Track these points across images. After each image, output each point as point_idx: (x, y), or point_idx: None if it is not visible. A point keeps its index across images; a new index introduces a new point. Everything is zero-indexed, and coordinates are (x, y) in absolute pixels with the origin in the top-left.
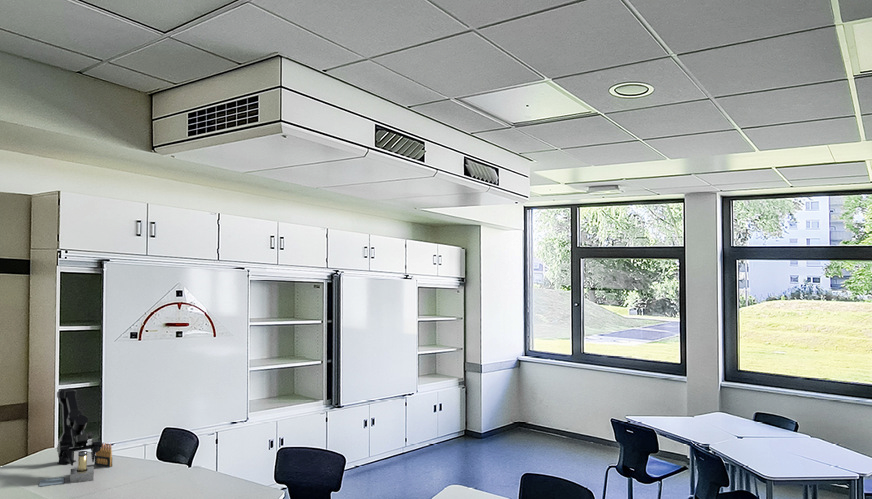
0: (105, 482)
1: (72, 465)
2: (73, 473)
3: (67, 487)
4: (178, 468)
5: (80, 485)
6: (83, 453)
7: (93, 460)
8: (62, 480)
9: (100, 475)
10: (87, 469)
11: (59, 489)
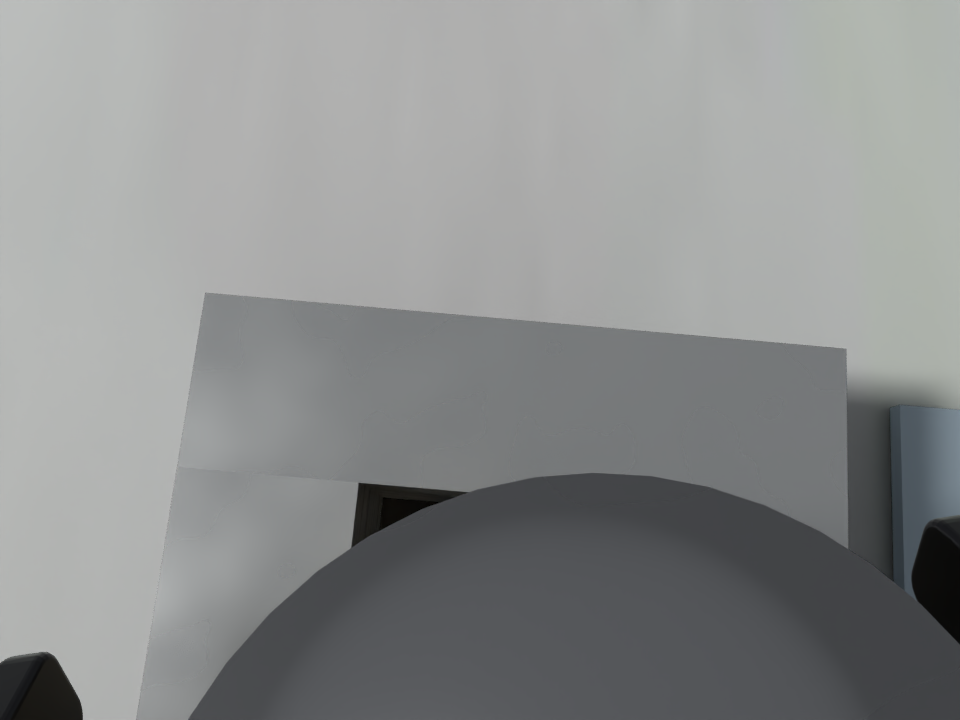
0: (69, 50)
1: (921, 562)
2: (759, 427)
3: (797, 106)
4: None
5: (552, 106)
6: (559, 480)
7: (9, 673)
8: None
9: None
10: None
11: (940, 57)
